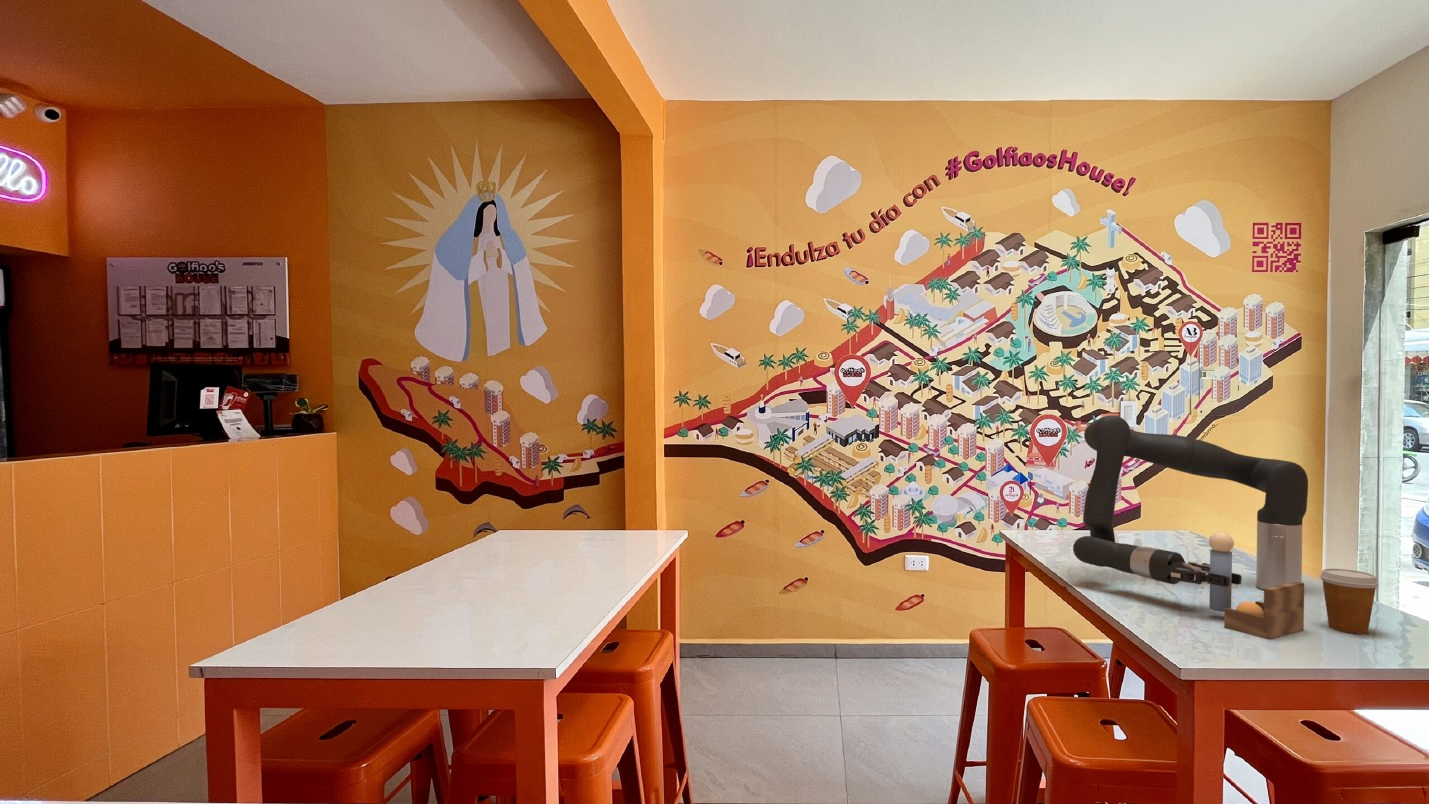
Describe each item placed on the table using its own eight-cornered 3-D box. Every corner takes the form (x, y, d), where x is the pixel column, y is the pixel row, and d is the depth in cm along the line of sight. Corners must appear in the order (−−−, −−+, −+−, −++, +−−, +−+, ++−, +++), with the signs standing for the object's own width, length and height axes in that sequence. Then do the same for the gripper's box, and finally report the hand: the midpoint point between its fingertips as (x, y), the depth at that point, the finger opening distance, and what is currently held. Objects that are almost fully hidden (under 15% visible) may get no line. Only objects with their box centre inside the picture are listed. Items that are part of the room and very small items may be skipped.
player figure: (1215, 605, 166) (1216, 529, 165) (1237, 610, 161) (1238, 533, 161) (1203, 608, 163) (1204, 531, 163) (1225, 613, 159) (1226, 534, 159)
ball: (1264, 599, 157) (1272, 623, 155) (1240, 601, 161) (1248, 625, 160) (1250, 602, 155) (1259, 626, 153) (1226, 604, 159) (1235, 628, 157)
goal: (1257, 619, 162) (1258, 574, 162) (1303, 630, 154) (1304, 583, 154) (1224, 627, 156) (1224, 580, 156) (1270, 639, 148) (1270, 590, 148)
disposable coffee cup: (1354, 623, 159) (1355, 568, 159) (1390, 637, 150) (1391, 579, 150) (1307, 621, 160) (1308, 567, 160) (1340, 635, 151) (1341, 577, 150)
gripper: (1138, 551, 172) (1216, 567, 157) (1174, 546, 178) (1253, 560, 163) (1138, 583, 172) (1215, 602, 157) (1174, 577, 178) (1252, 594, 163)
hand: (1234, 580), depth 160 cm, fingers closed on player figure, 4 cm apart
